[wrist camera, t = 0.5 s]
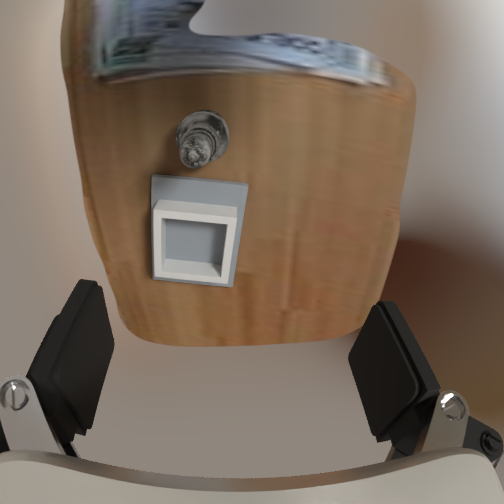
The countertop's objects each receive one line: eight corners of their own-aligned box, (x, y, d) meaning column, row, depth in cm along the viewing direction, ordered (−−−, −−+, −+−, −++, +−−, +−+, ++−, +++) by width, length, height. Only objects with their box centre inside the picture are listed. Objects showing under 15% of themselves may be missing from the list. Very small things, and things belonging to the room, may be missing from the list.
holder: (153, 174, 37) (145, 185, 33) (247, 183, 38) (249, 195, 35) (154, 275, 45) (148, 292, 42) (232, 283, 47) (232, 300, 43)
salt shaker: (179, 152, 35) (156, 189, 25) (182, 106, 32) (159, 122, 22) (227, 156, 36) (223, 194, 26) (233, 110, 33) (232, 127, 23)
